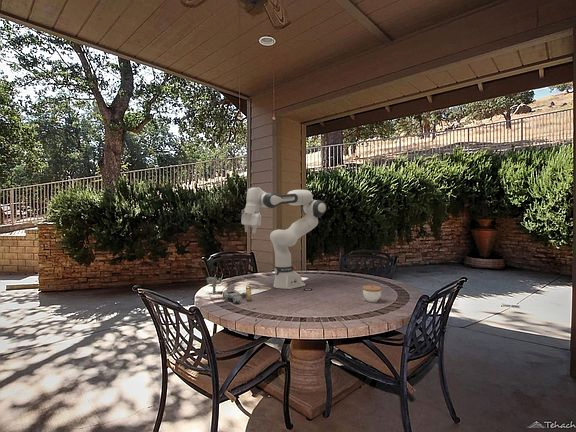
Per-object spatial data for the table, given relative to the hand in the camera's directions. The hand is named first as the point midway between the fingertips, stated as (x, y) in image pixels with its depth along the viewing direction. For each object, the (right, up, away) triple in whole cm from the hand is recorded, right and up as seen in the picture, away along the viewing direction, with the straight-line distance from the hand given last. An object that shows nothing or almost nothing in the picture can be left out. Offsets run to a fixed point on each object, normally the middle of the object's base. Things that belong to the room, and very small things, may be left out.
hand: (250, 232), depth 218 cm
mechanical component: (-23, -39, -4) cm, 45 cm away
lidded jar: (+74, -39, -22) cm, 86 cm away
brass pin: (+1, -39, -20) cm, 44 cm away
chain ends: (-4, -39, -19) cm, 43 cm away
